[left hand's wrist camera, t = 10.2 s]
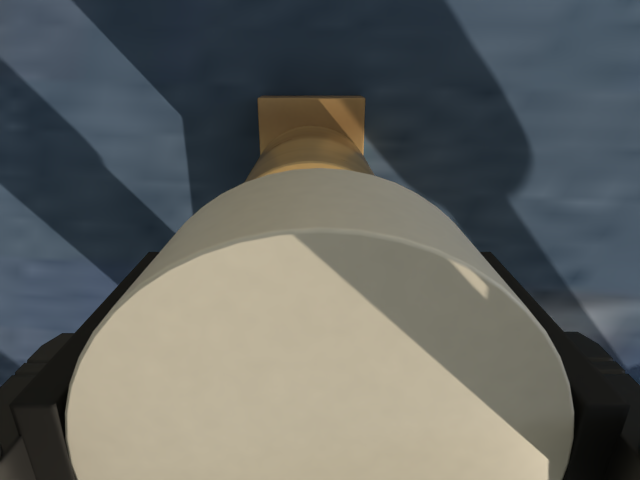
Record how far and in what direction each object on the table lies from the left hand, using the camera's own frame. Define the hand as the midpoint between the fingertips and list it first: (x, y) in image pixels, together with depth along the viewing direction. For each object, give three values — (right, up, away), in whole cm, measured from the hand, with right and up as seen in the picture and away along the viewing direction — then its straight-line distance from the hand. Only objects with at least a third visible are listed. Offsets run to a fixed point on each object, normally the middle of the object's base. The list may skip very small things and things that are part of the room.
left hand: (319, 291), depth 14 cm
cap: (0, -1, -2) cm, 3 cm away
